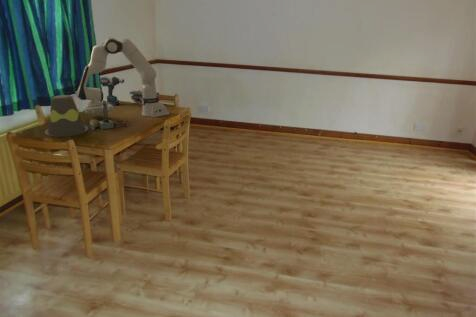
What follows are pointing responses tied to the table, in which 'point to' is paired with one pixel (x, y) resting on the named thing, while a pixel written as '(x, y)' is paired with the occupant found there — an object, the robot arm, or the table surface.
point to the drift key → (95, 122)
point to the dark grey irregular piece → (138, 97)
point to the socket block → (102, 125)
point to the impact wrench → (111, 88)
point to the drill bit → (105, 112)
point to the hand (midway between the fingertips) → (101, 111)
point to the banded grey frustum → (64, 118)
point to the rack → (119, 123)
